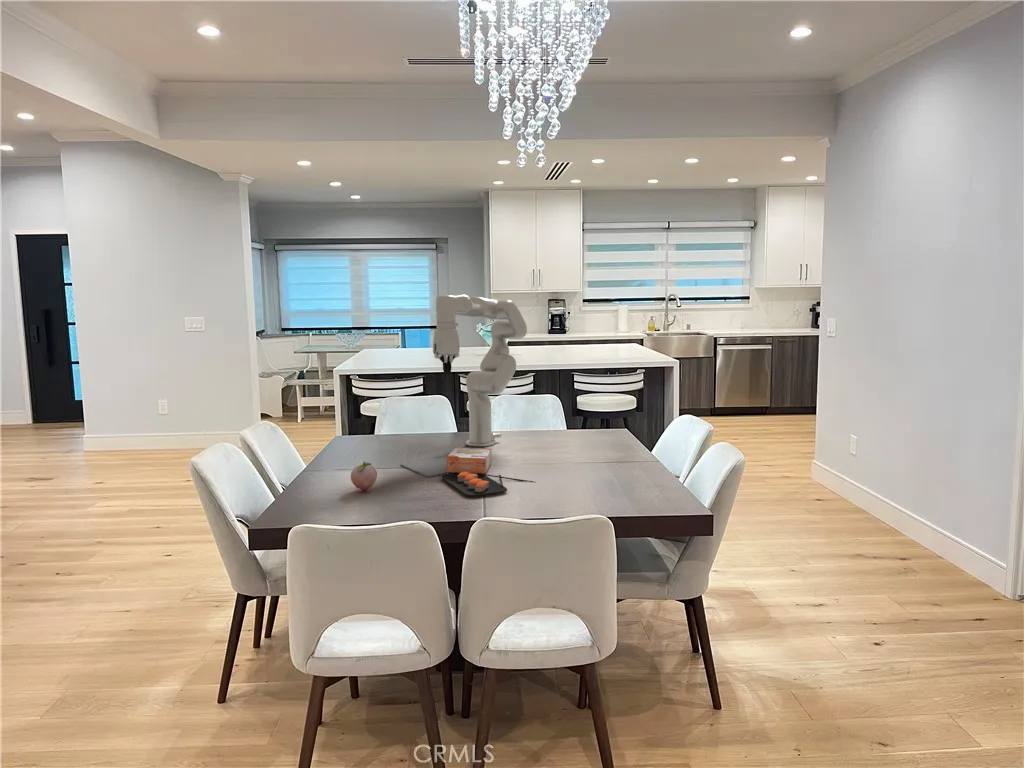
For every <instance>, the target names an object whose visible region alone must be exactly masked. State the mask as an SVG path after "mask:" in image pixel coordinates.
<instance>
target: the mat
mask: <svg viewBox="0 0 1024 768" xmlns="http://www.w3.org/2000/svg"><path fill="white" fill-rule="evenodd" d="M401 465H402V466H404V467H403V468H405V467H406V469H407V468H408V470H409V469H410V470H409V471H412V470H413V471H412V472H414V471H415V472H414V473H416V472H417V473H416V474H418V475H421V474H422V475H421V476H423V475H424V476H423V477H425V476H427V477H426V478H431V477H430V476H434V477H437V476H436V475H439V476H442V475H441V474H447V473H451V474H452V473H453V472H447V456H443V457H437V458H432V459H431V458H430V459H425V460H419V461H412V462H406V463H405V462H404V463H400V466H401ZM402 466H401V467H402Z"/></svg>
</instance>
